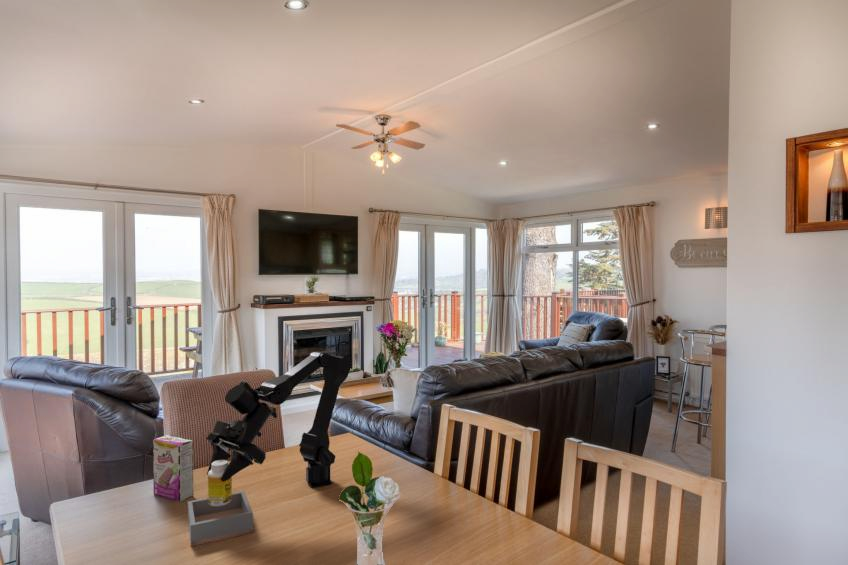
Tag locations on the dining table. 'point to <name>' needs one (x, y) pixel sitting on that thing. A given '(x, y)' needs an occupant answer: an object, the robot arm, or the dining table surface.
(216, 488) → the supplement bottle
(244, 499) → the walled box
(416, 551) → the dining table surface
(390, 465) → the dining table surface
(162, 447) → the candy bar box
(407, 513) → the dining table surface
